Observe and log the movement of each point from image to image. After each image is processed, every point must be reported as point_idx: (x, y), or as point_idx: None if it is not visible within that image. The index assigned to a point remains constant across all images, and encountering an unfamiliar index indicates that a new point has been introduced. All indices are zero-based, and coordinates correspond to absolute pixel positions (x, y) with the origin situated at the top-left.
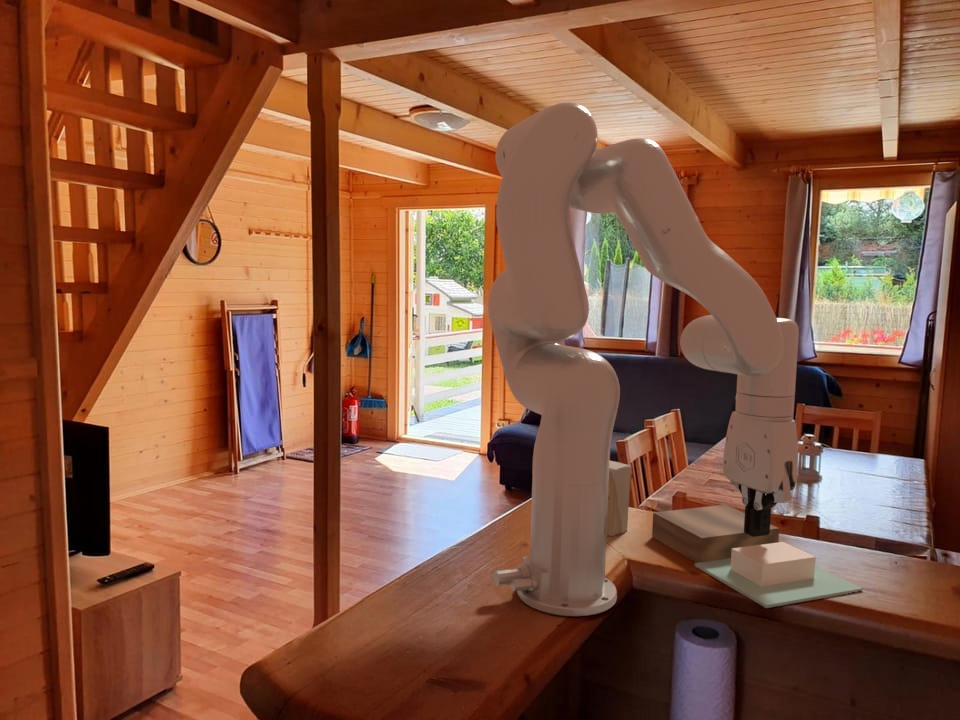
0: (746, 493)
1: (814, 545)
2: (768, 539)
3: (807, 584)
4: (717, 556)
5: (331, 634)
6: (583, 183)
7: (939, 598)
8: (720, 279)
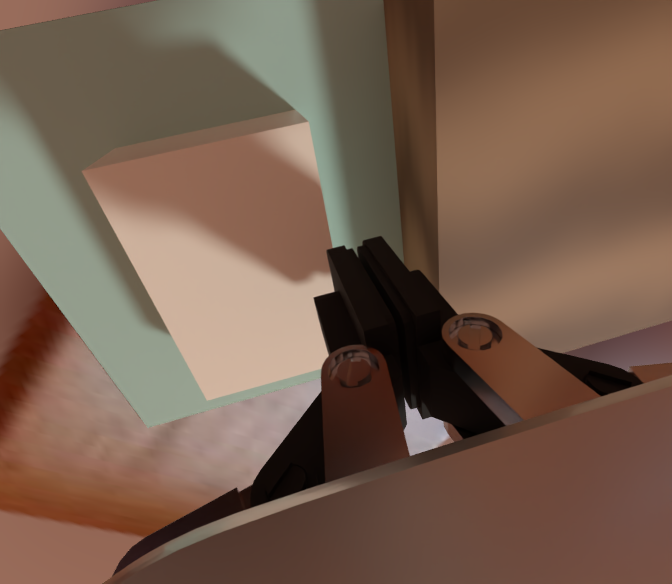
0: (501, 380)
1: (432, 424)
2: None
3: (159, 315)
4: (397, 105)
5: None
6: None
7: (130, 521)
8: None
